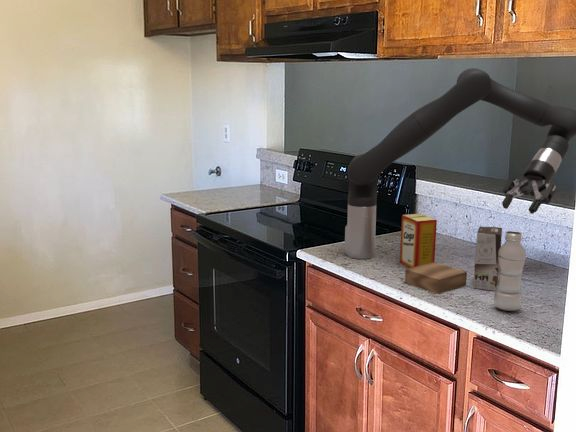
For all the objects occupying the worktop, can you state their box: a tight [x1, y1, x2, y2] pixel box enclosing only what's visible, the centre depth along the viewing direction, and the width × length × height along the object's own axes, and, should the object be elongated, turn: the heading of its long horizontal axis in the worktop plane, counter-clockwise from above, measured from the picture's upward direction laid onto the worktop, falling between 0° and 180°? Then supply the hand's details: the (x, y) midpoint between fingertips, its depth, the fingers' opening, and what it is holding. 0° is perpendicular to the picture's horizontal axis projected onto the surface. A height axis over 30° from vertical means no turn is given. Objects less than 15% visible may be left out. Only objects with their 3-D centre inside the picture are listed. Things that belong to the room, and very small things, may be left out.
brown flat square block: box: [404, 261, 468, 295], centre depth 176 cm, size 12×12×4 cm
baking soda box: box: [399, 213, 438, 269], centre depth 191 cm, size 10×6×16 cm
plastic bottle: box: [493, 230, 527, 312], centre depth 154 cm, size 6×7×20 cm
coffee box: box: [472, 225, 503, 292], centre depth 174 cm, size 9×6×16 cm
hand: (517, 209), depth 178 cm, fingers open, 8 cm apart
